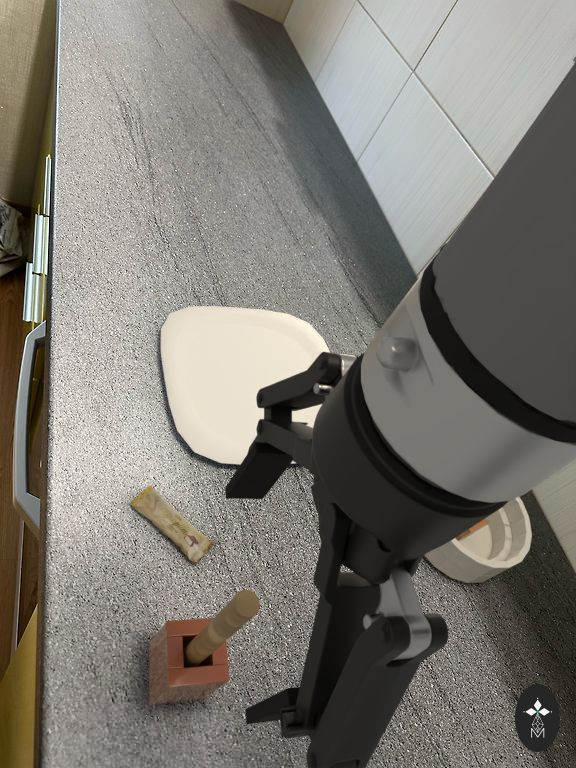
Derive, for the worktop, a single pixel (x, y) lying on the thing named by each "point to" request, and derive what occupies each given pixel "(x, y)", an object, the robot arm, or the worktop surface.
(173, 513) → the snack bar
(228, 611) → the stick
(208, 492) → the worktop surface
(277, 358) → the plate
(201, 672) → the holder
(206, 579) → the worktop surface
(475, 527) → the block
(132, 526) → the worktop surface
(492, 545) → the bowl
